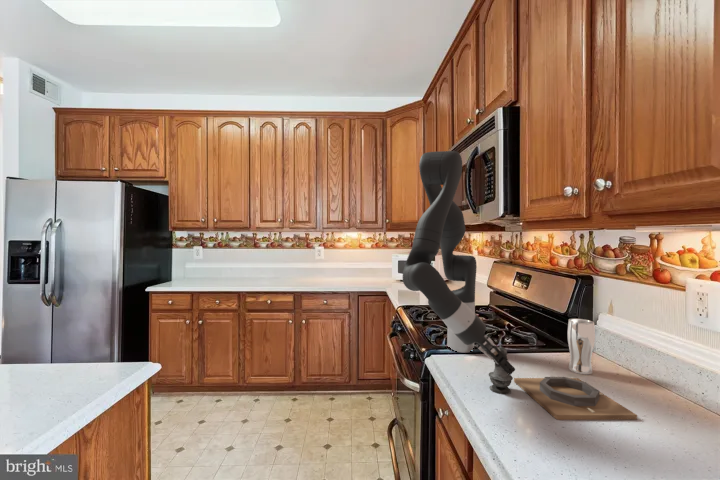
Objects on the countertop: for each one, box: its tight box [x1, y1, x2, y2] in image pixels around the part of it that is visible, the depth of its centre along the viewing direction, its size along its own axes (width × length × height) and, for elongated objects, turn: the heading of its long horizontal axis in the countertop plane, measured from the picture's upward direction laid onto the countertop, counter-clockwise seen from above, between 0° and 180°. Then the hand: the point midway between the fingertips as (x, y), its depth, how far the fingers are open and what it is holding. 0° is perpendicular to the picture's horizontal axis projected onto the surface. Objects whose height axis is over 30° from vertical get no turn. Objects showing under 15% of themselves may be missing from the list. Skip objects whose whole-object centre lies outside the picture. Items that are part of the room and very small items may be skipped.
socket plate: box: [513, 376, 638, 421], centre depth 87 cm, size 20×18×3 cm
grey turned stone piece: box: [488, 343, 514, 395], centre depth 91 cm, size 6×6×12 cm
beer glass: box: [567, 318, 596, 376], centre depth 105 cm, size 7×7×15 cm
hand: (508, 368), depth 92 cm, fingers closed on grey turned stone piece, 3 cm apart
